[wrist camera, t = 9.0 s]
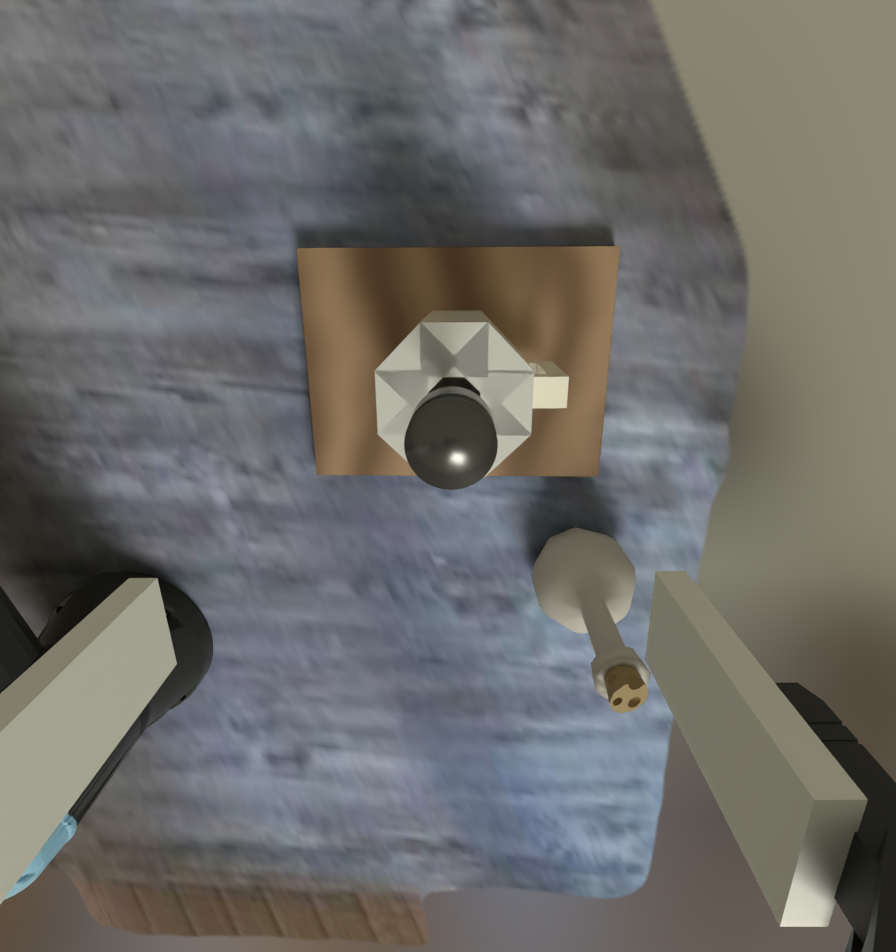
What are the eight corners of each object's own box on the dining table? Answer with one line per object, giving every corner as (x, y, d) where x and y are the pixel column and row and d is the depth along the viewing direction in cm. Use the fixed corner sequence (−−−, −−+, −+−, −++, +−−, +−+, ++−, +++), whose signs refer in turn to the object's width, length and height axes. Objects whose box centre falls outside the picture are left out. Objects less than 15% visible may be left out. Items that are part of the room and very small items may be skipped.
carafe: (401, 424, 45) (379, 476, 33) (398, 310, 42) (371, 322, 30) (543, 424, 45) (572, 478, 33) (549, 309, 42) (584, 321, 30)
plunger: (431, 397, 43) (405, 489, 24) (430, 345, 41) (402, 399, 23) (481, 397, 43) (496, 489, 24) (482, 345, 41) (499, 399, 22)
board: (321, 469, 48) (316, 474, 47) (302, 249, 42) (296, 248, 41) (594, 470, 47) (598, 476, 46) (614, 247, 41) (620, 246, 40)
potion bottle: (543, 508, 49) (585, 630, 32) (637, 531, 49) (727, 663, 32) (515, 590, 52) (540, 741, 35) (604, 611, 52) (671, 770, 35)
